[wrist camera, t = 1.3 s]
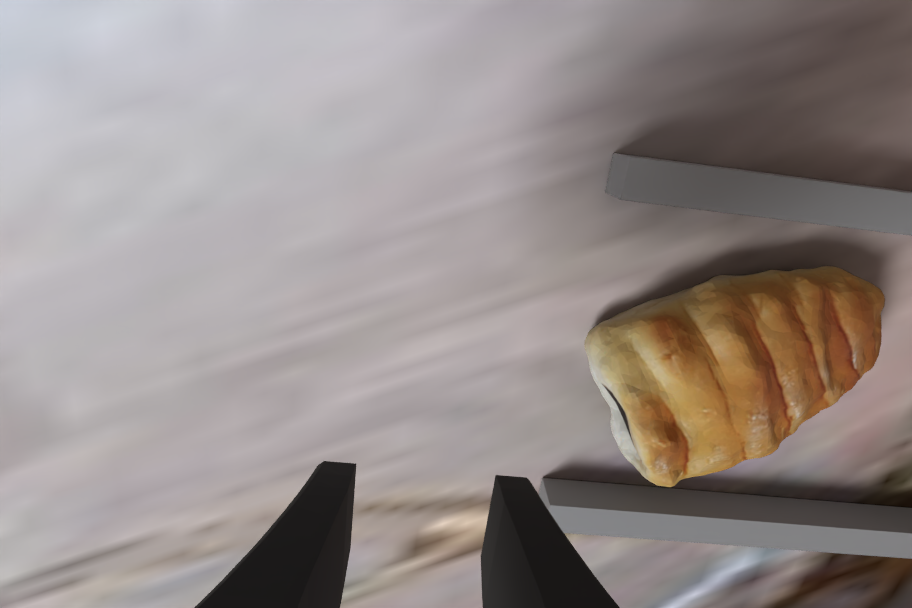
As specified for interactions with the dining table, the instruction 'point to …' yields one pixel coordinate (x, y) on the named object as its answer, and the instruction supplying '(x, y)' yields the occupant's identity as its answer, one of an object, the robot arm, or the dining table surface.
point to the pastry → (731, 366)
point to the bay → (730, 513)
